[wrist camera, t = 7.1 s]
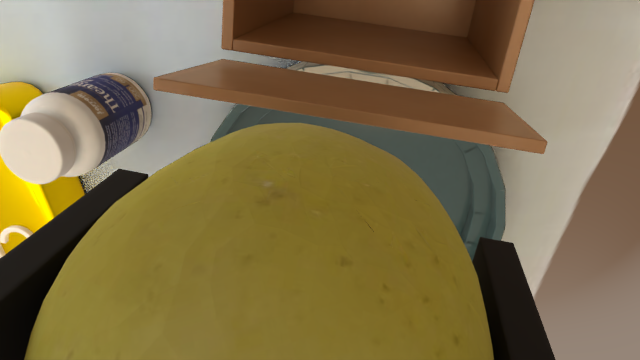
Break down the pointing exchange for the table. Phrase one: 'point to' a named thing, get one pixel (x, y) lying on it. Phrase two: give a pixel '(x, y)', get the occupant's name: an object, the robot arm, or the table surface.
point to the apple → (270, 261)
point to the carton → (374, 63)
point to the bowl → (411, 155)
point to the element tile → (21, 196)
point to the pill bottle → (75, 128)
